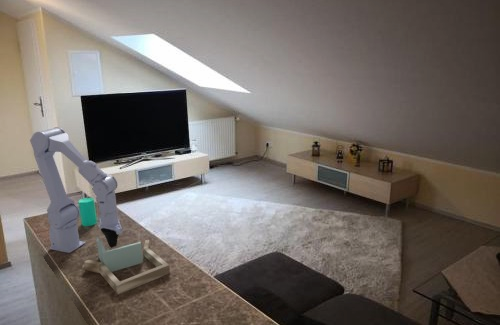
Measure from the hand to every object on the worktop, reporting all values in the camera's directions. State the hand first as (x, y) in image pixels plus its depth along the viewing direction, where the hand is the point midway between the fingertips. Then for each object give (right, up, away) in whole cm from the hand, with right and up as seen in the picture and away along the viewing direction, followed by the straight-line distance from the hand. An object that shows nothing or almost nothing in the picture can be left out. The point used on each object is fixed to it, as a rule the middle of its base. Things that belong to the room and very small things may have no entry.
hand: (113, 246), depth 134 cm
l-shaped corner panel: (+4, -4, -4) cm, 7 cm away
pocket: (+10, -5, -11) cm, 15 cm away
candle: (-19, +4, +25) cm, 32 cm away
